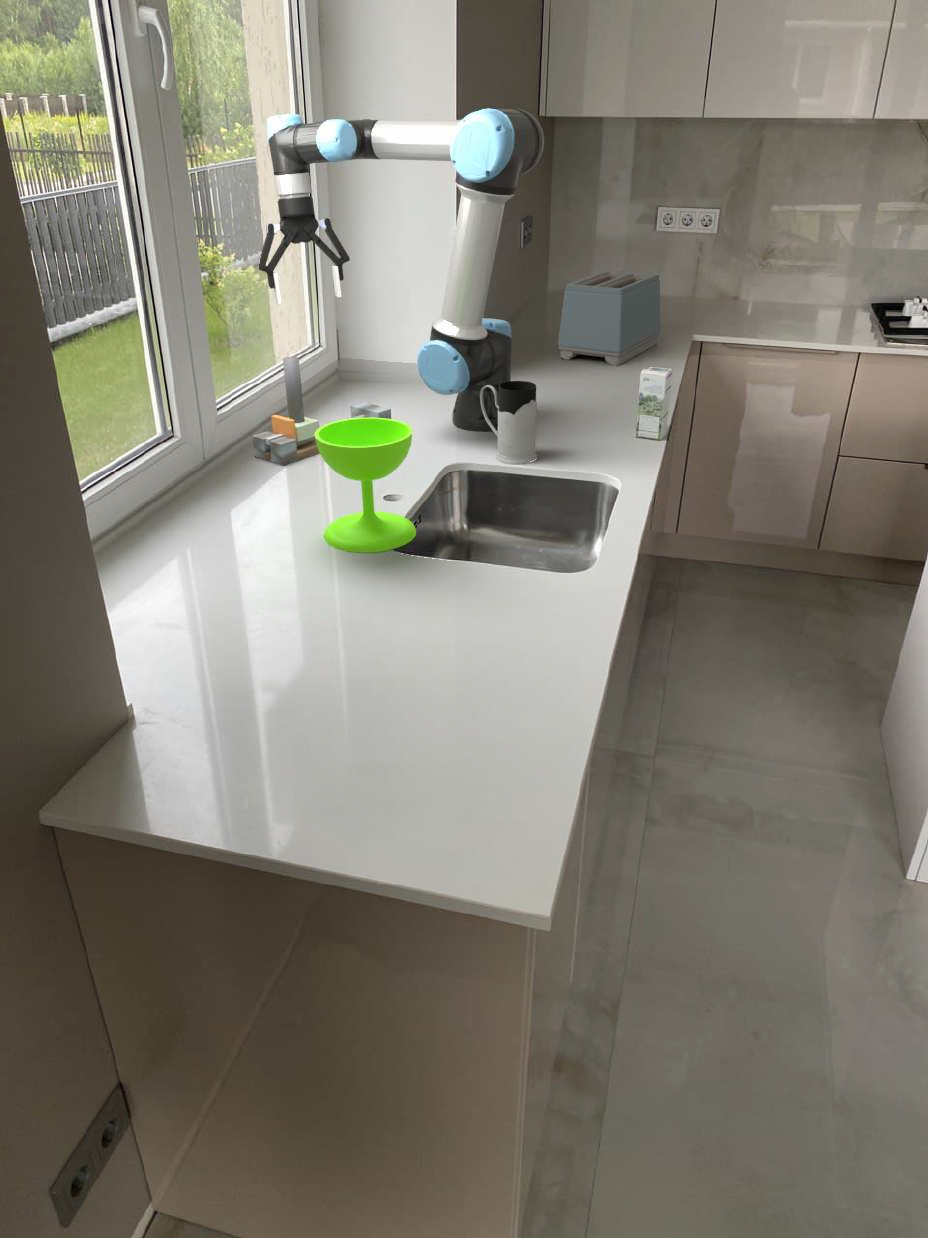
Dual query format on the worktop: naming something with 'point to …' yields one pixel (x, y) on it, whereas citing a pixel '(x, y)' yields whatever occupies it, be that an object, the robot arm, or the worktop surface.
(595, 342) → the toaster
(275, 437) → the orange block
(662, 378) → the syrup box
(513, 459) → the glass holder
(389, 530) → the wineglass
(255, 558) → the worktop surface
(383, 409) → the rail base
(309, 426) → the carriage
